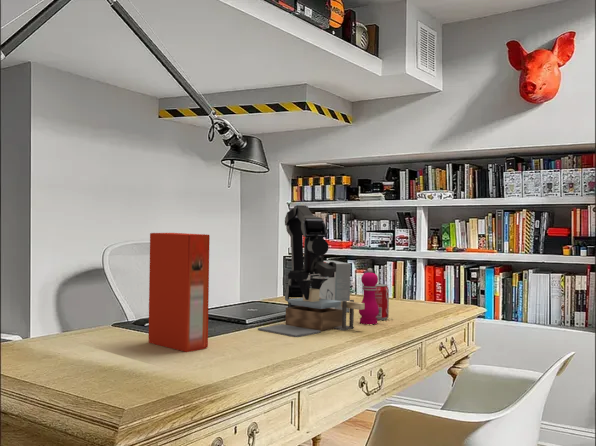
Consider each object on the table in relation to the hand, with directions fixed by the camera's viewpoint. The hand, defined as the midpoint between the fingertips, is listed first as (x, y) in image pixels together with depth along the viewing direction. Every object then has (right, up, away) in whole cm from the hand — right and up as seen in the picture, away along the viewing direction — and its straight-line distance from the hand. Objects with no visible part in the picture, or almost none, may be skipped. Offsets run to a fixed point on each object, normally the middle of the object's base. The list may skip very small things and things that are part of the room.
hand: (311, 299), depth 213 cm
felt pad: (-7, -9, -10) cm, 15 cm away
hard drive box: (+10, -10, +42) cm, 44 cm away
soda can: (+26, -10, +21) cm, 35 cm away
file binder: (-39, -9, -36) cm, 54 cm away
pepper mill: (+21, -10, +11) cm, 26 cm away
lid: (+1, -2, +1) cm, 2 cm away
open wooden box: (+3, -10, +1) cm, 10 cm away
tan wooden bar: (+14, -3, -4) cm, 15 cm away
